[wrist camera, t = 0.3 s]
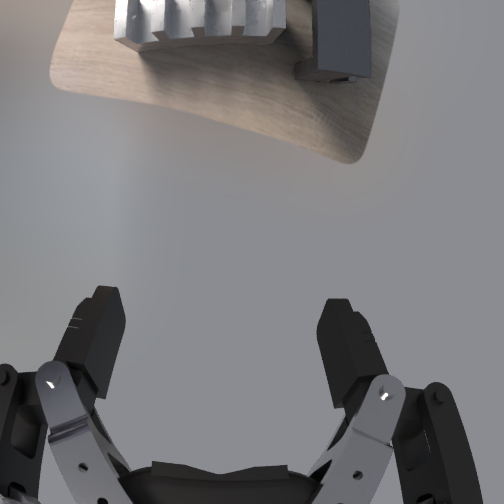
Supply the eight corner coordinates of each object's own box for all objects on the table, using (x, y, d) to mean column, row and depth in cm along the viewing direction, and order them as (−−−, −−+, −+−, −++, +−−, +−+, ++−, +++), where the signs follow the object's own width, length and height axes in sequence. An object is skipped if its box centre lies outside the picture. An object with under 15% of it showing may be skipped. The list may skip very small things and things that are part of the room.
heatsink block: (139, 12, 24) (117, -11, 16) (270, 5, 25) (285, -22, 17) (138, 52, 27) (113, 39, 19) (270, 45, 28) (286, 28, 20)
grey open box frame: (286, -22, 23) (313, -63, 12) (334, -14, 24) (376, -46, 13) (286, 79, 30) (317, 68, 20) (336, 84, 31) (384, 80, 20)
